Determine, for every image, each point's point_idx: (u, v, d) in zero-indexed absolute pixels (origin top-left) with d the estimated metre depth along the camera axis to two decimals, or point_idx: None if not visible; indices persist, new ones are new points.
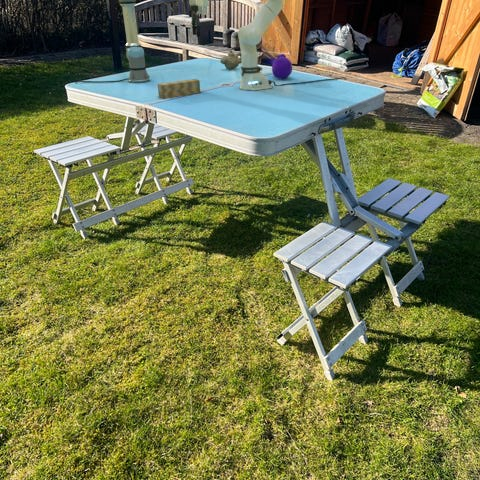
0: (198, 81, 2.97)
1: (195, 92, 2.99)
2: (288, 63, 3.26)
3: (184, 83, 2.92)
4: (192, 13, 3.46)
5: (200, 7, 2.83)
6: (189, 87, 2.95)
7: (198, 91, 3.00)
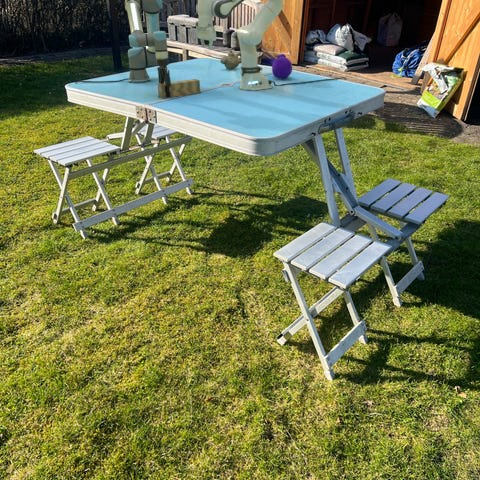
0: (198, 81, 2.97)
1: (195, 92, 2.99)
2: (288, 63, 3.26)
3: (184, 83, 2.92)
4: (158, 69, 2.88)
5: (202, 40, 2.92)
6: (189, 87, 2.95)
7: (198, 91, 3.00)
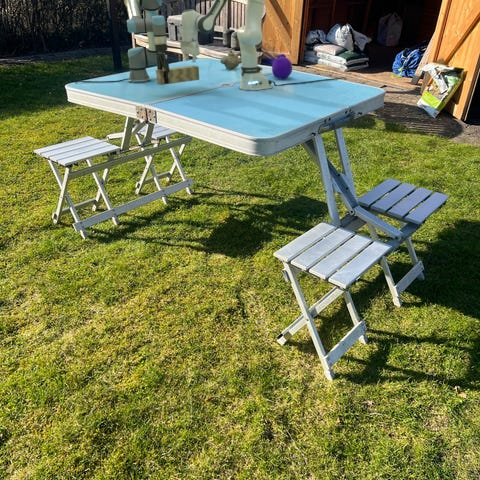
0: (197, 67, 2.93)
1: (194, 79, 2.95)
2: (288, 63, 3.26)
3: (183, 69, 2.88)
4: (157, 55, 2.83)
5: (186, 54, 2.93)
6: (188, 73, 2.91)
7: (197, 78, 2.96)
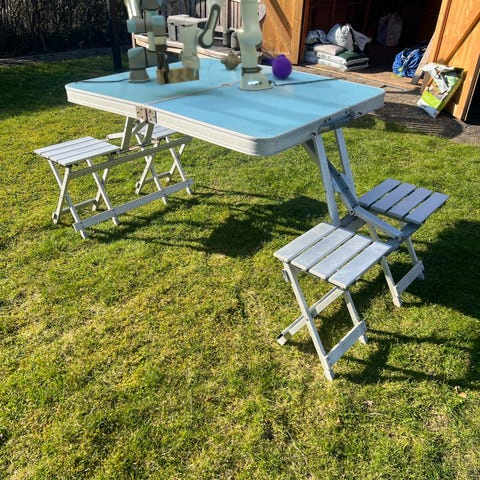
0: None
1: (194, 79, 2.95)
2: (288, 63, 3.26)
3: (183, 69, 2.88)
4: (157, 55, 2.83)
5: None
6: (188, 73, 2.91)
7: (197, 78, 2.96)
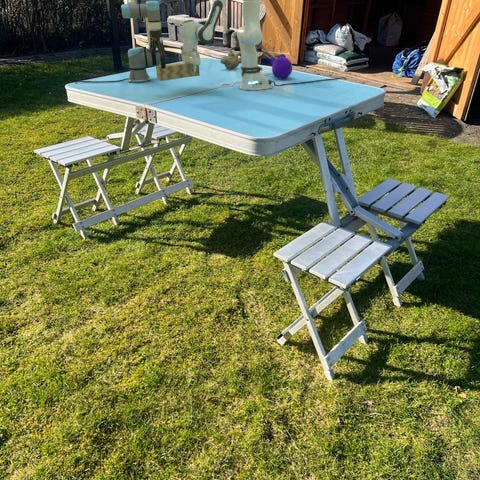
0: None
1: (194, 75, 2.93)
2: (288, 63, 3.26)
3: (183, 65, 2.87)
4: (151, 39, 2.78)
5: None
6: (188, 69, 2.89)
7: (197, 74, 2.94)
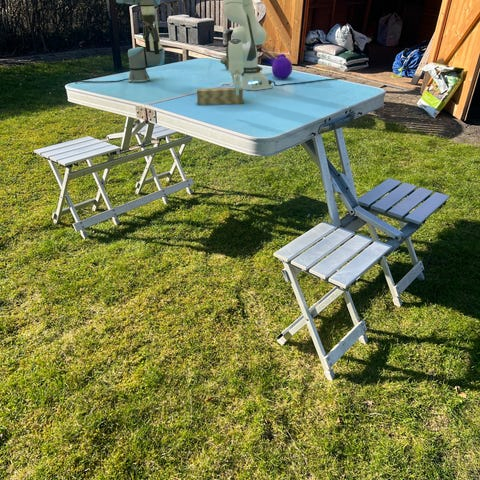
0: (241, 90, 2.70)
1: (236, 102, 2.73)
2: (288, 63, 3.26)
3: (224, 91, 2.69)
4: (144, 25, 2.72)
5: None
6: (229, 96, 2.71)
7: (240, 101, 2.73)
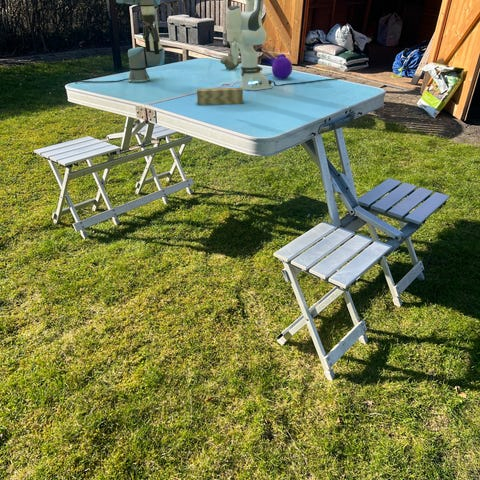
0: (241, 90, 2.70)
1: (236, 102, 2.73)
2: (288, 63, 3.26)
3: (224, 91, 2.69)
4: (144, 25, 2.72)
5: None
6: (229, 96, 2.71)
7: (240, 101, 2.73)
